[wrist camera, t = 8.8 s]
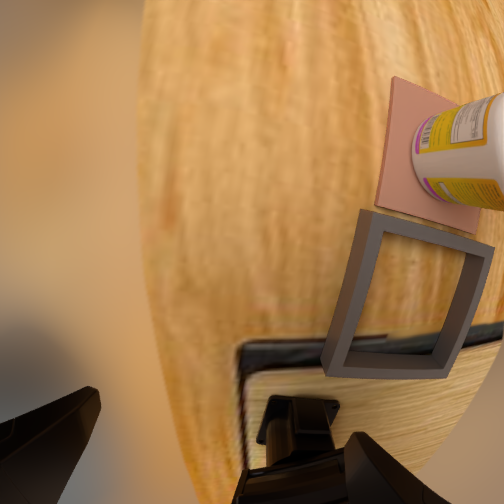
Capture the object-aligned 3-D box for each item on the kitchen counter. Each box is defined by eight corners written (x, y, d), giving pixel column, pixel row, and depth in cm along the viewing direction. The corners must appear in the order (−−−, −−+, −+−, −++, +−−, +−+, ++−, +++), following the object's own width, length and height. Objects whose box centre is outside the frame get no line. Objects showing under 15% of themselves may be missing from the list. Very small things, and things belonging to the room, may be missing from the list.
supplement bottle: (478, 195, 18) (602, 216, 6) (417, 209, 19) (558, 245, 6) (462, 114, 17) (583, 87, 4) (398, 118, 17) (530, 68, 5)
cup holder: (434, 364, 22) (446, 378, 20) (319, 358, 22) (325, 376, 20) (477, 241, 20) (495, 247, 17) (360, 208, 20) (373, 212, 17)
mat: (471, 233, 20) (475, 234, 19) (374, 204, 19) (377, 205, 19) (485, 123, 17) (489, 122, 17) (391, 78, 17) (394, 75, 17)
